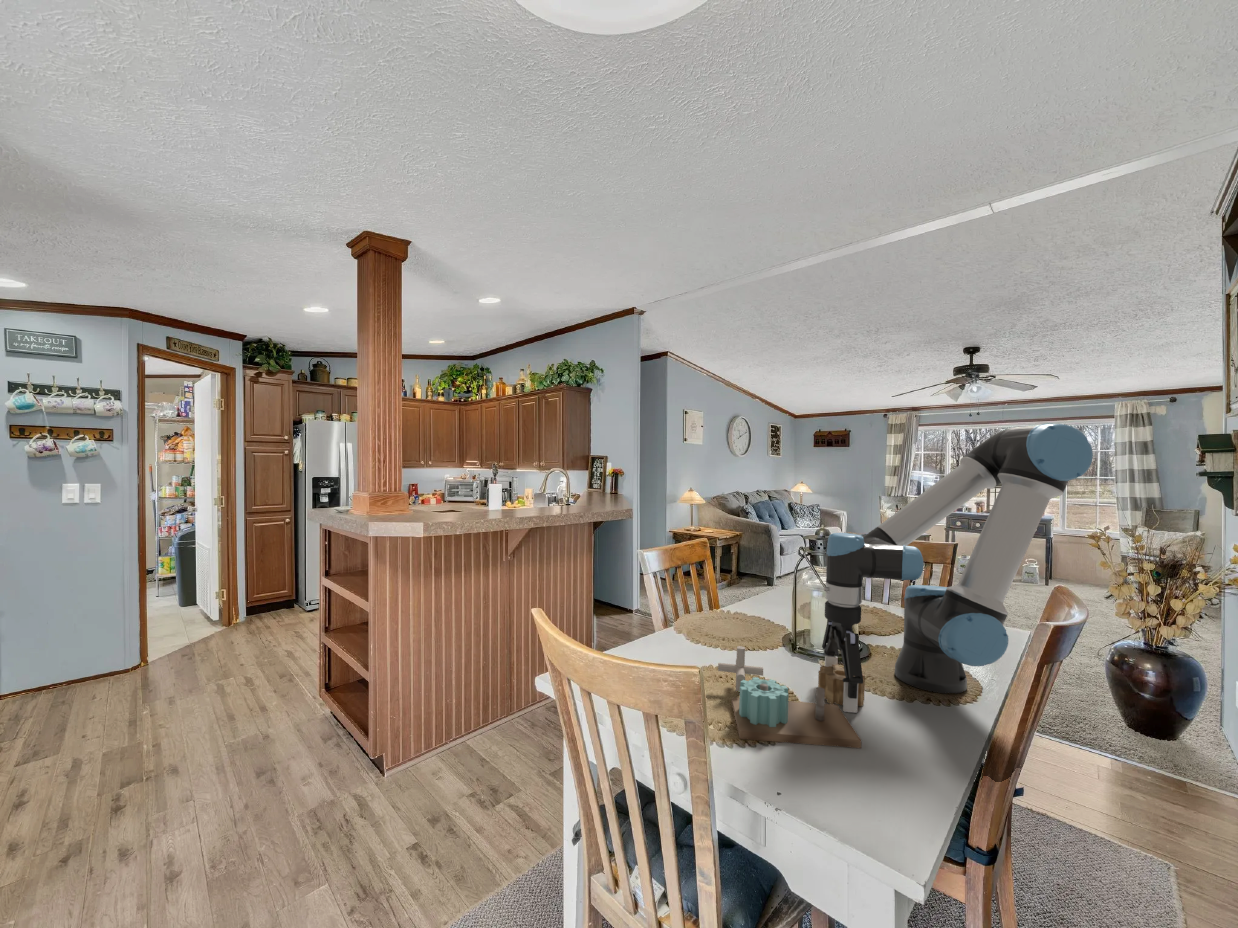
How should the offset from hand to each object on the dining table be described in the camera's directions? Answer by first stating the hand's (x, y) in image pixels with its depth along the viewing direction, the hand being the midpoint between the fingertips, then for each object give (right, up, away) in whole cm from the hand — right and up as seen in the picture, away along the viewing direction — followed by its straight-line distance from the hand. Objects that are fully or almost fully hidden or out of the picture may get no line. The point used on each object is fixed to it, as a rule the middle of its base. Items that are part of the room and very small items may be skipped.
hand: (839, 696), depth 116 cm
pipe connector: (-22, 0, +2) cm, 22 cm away
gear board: (-15, 0, -13) cm, 20 cm away
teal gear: (-20, +2, -12) cm, 24 cm away
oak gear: (0, 0, 0) cm, 0 cm away
